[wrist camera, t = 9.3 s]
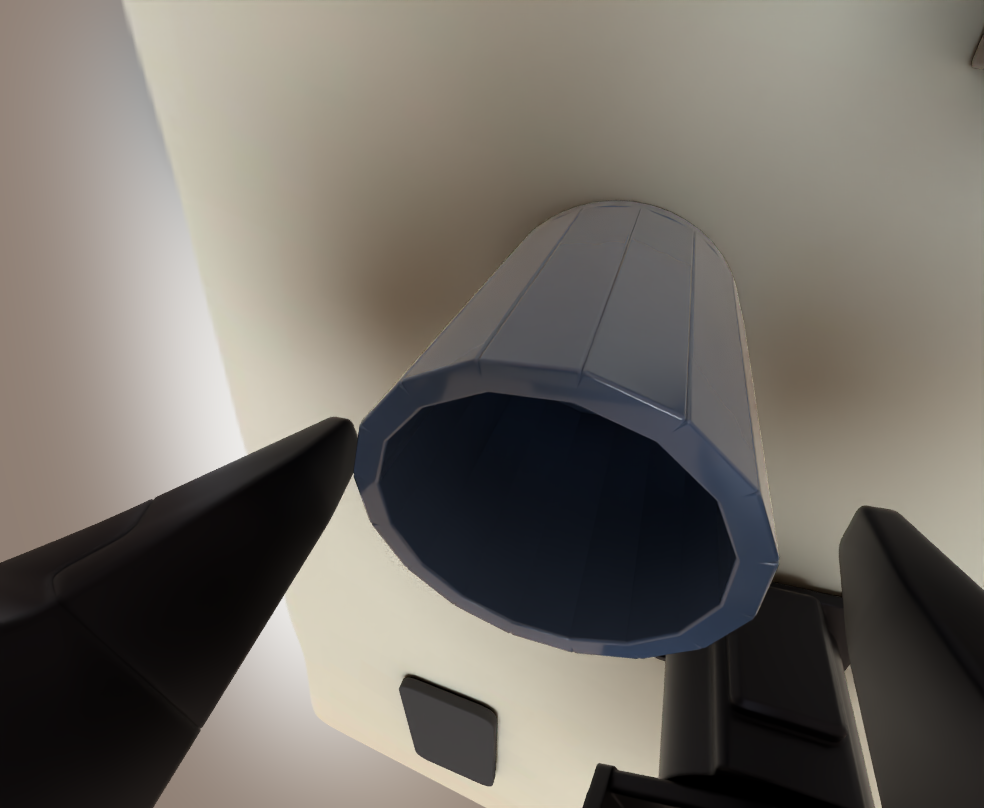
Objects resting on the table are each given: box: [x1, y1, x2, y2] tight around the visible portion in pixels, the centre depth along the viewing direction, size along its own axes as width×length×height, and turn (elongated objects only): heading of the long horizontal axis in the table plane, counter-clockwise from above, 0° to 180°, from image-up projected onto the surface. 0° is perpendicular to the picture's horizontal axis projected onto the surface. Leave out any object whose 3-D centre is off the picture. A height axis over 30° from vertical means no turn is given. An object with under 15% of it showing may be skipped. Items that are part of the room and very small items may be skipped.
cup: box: [353, 200, 780, 659], centre depth 10 cm, size 6×6×8 cm
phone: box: [399, 678, 497, 786], centre depth 37 cm, size 7×1×15 cm
